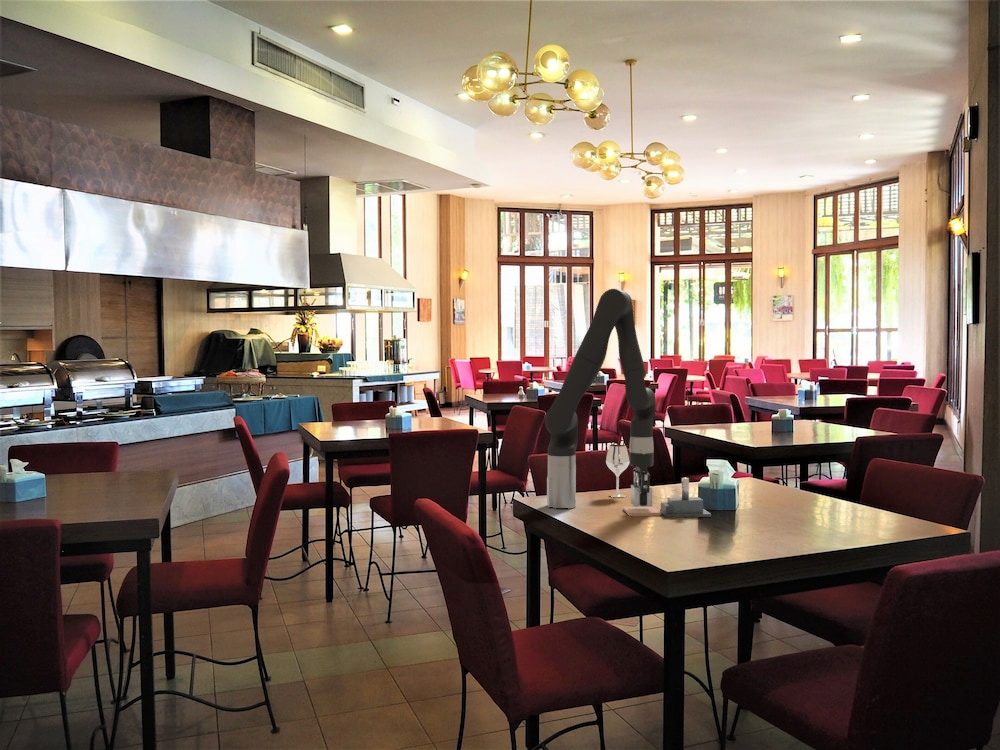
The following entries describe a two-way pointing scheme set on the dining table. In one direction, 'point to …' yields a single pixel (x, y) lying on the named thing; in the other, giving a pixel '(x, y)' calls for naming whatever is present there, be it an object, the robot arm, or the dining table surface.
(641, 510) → the terracotta tile
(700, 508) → the grey peg stand
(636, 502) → the white cube
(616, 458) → the wineglass
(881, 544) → the dining table surface
